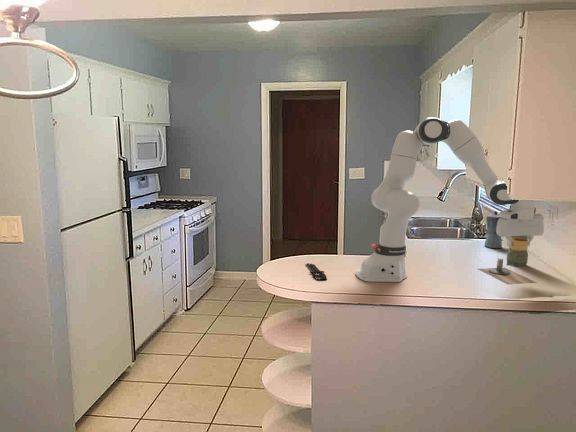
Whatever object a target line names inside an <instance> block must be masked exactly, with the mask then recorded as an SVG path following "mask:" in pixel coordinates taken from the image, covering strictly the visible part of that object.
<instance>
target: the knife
mask: <svg viewBox="0 0 576 432" xmlns="http://www.w3.org/2000/svg"><path fill="white" fill-rule="evenodd" d="M305 266H306V268H307V269H308V270H309V274H311V275H312V277H313V279H316V281H317V282H321V281H322V282H323V281H328V278H327V274H325V271H324V270H320V269H319V268H318V267H317V266H316V265H315V264H313V263H310V262H307V263H306V264H305Z"/></svg>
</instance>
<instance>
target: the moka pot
mask: <svg viewBox="0 0 576 432" xmlns="http://www.w3.org/2000/svg"><path fill="white" fill-rule="evenodd" d="M499 218H501V217H499V214H498V211H494V214H488V215H486V229H487V230H486V231H487V232H486V237H485V243H484V247H486V248H491V249H501V248H502V245H503V243H502V242H503V241H502V236H499V235H497V233H496V227H497V222H498V220H499Z"/></svg>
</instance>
